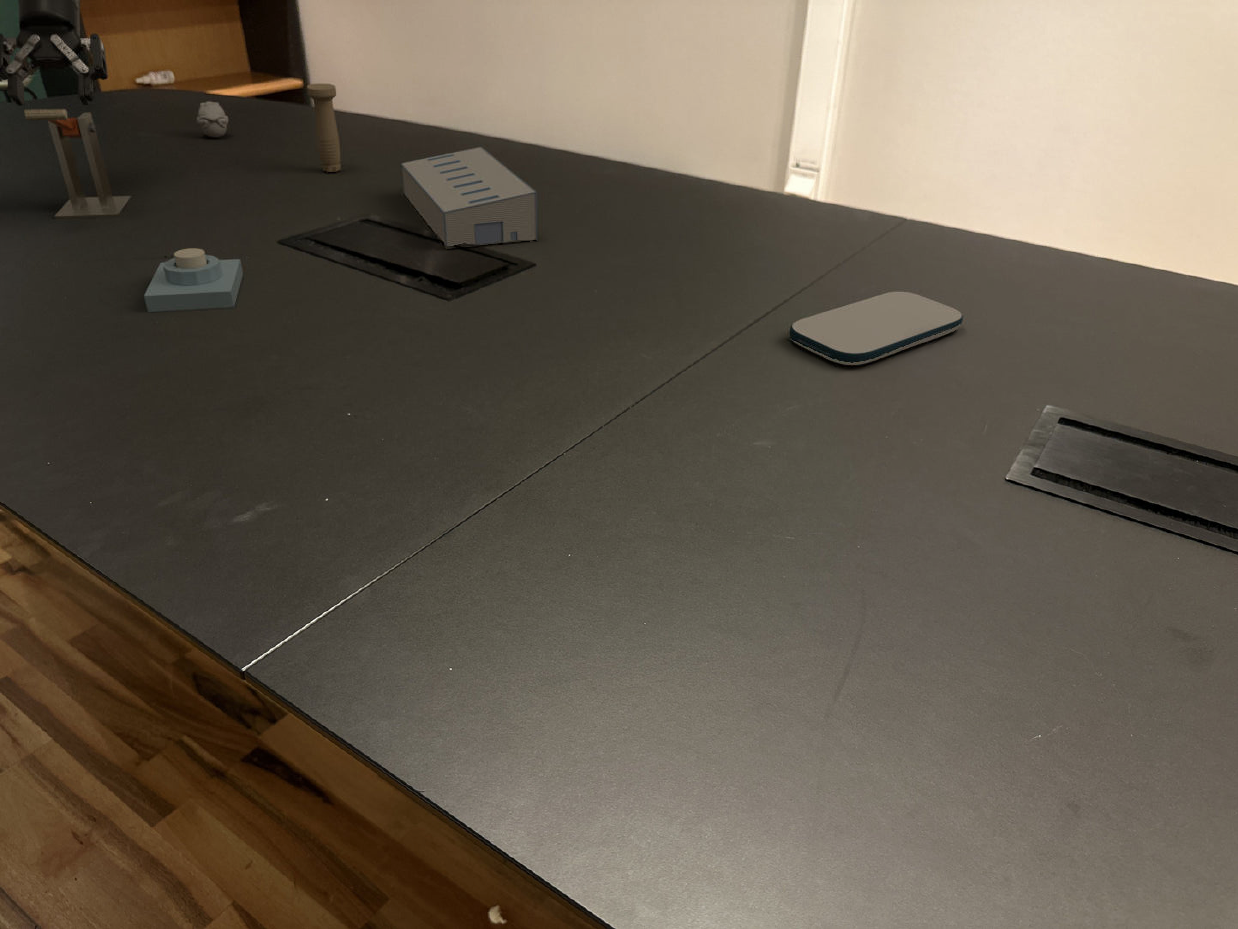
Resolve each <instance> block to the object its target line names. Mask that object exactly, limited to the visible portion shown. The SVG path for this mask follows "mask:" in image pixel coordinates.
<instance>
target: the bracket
mask: <svg viewBox="0 0 1238 929" xmlns="http://www.w3.org/2000/svg"><path fill="white" fill-rule="evenodd" d="M76 118H77V121H78V125H79V129H80V132H81V136H82V138H81V140H82V143H83V146H84V150H85V154H86V158H87V162H88V165H89V168H90V173H91V176H92V181H93V185H94V187H95V190H96V191H95V192H96V194H97V196H88V197H86V194H85V190H84V186H83V183H82V180H81V176H80V172H79V169H78V166H77V161H76V158H75V155H74V151H73V147H72V143H71V140H70V138H69V137H67V136H64V135H63V132H62V127H60V126H58V125H55V124H53V123H51V122H49V121H47V123H48V124H47V125H48V129H49V132H50V134H51V138H52V140H53V144H54V148H55V152H56V156H57V158H58V162H59V165H60V169H61V173H62V176H63V179H64V183H65V186H66V190H67V193H68V197H69V199H68V200H67V201H66V203H65V204H64V205H62V207H61V208H60V209H59V211H57V213H56V214H55V215H54V219H55V220H61V219H62V220H64V219H67V220H68V219H91V218H92V219H94V218H118V217H120V216H121V215H122V214H123V212H124V210H125V209H126V207H128V205H129V204H130V202H131V201H132V196H131V195H121V196H118V195H117V196H113V192H112V188H111V184H110V181H109V177H108V173H107V168H106V165H105V162H104V158H103V153H102V150H101V146H100V142H99V138H98V134H97V127H96V125H95V123H94V119H93V116H92V112H83V113H82V114H81V115H79V116H78V117H76Z"/></svg>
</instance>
